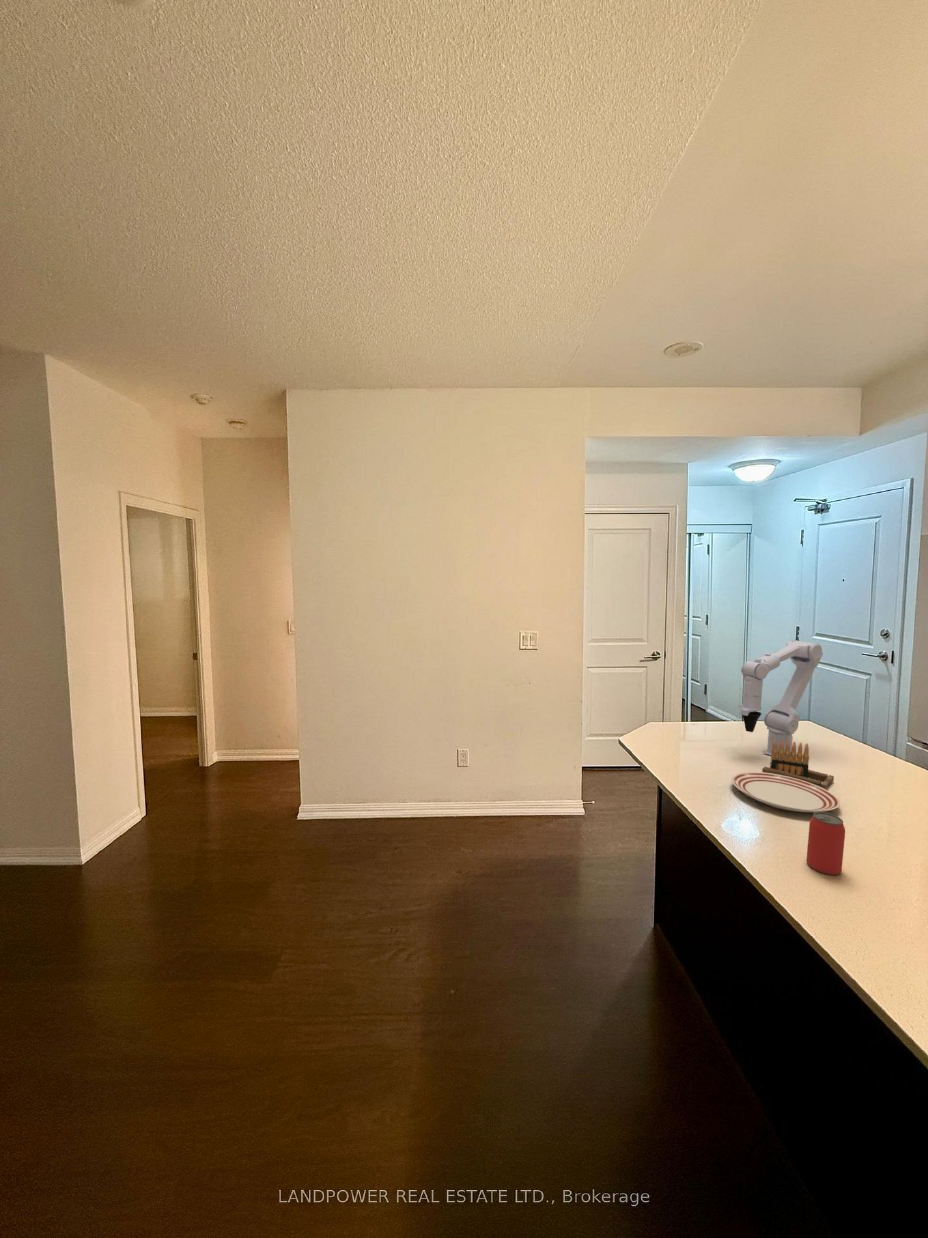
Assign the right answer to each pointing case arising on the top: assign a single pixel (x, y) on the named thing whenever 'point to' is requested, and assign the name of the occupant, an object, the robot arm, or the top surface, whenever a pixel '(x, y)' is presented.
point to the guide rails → (812, 777)
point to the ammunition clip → (790, 759)
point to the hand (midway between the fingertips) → (749, 731)
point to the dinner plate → (785, 792)
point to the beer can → (826, 843)
